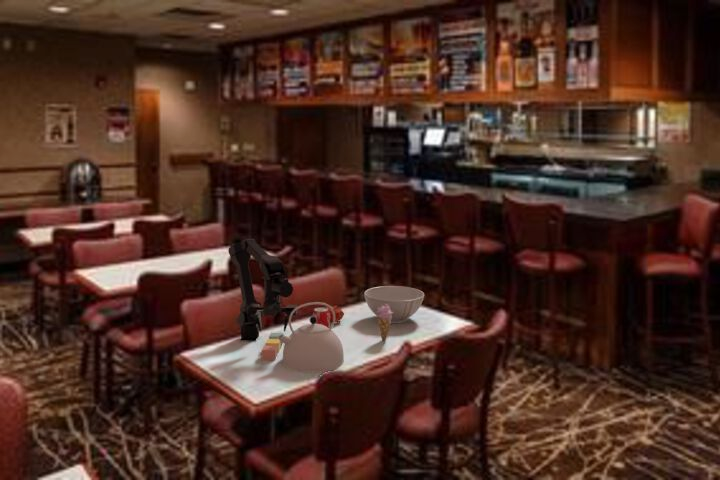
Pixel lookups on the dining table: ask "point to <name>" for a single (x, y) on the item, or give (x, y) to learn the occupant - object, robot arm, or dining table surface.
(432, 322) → the dining table surface
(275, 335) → the teal base brick
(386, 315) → the ice cream cone
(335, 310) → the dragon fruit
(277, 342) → the mustard brick
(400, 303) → the decorative bowl
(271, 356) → the terracotta brick
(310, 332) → the kettle
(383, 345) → the dining table surface
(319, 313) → the soda can
